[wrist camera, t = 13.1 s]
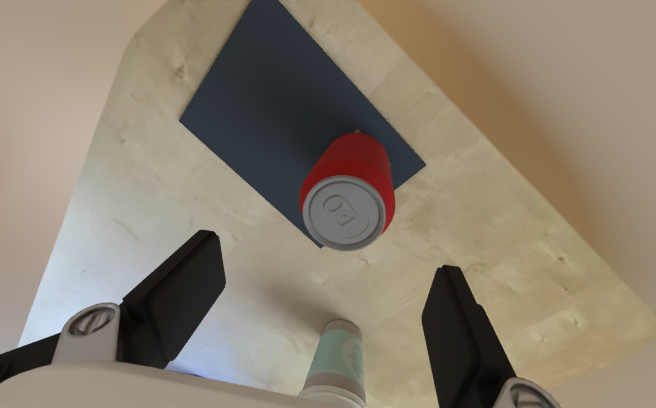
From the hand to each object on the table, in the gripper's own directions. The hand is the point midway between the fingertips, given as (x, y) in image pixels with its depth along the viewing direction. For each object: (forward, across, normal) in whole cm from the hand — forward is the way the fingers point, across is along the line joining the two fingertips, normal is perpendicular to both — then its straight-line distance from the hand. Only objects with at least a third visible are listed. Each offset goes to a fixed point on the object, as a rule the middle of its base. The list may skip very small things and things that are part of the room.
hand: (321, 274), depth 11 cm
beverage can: (+18, -1, +1) cm, 18 cm away
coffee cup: (+18, -2, +27) cm, 33 cm away
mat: (+18, +6, -1) cm, 19 cm away
